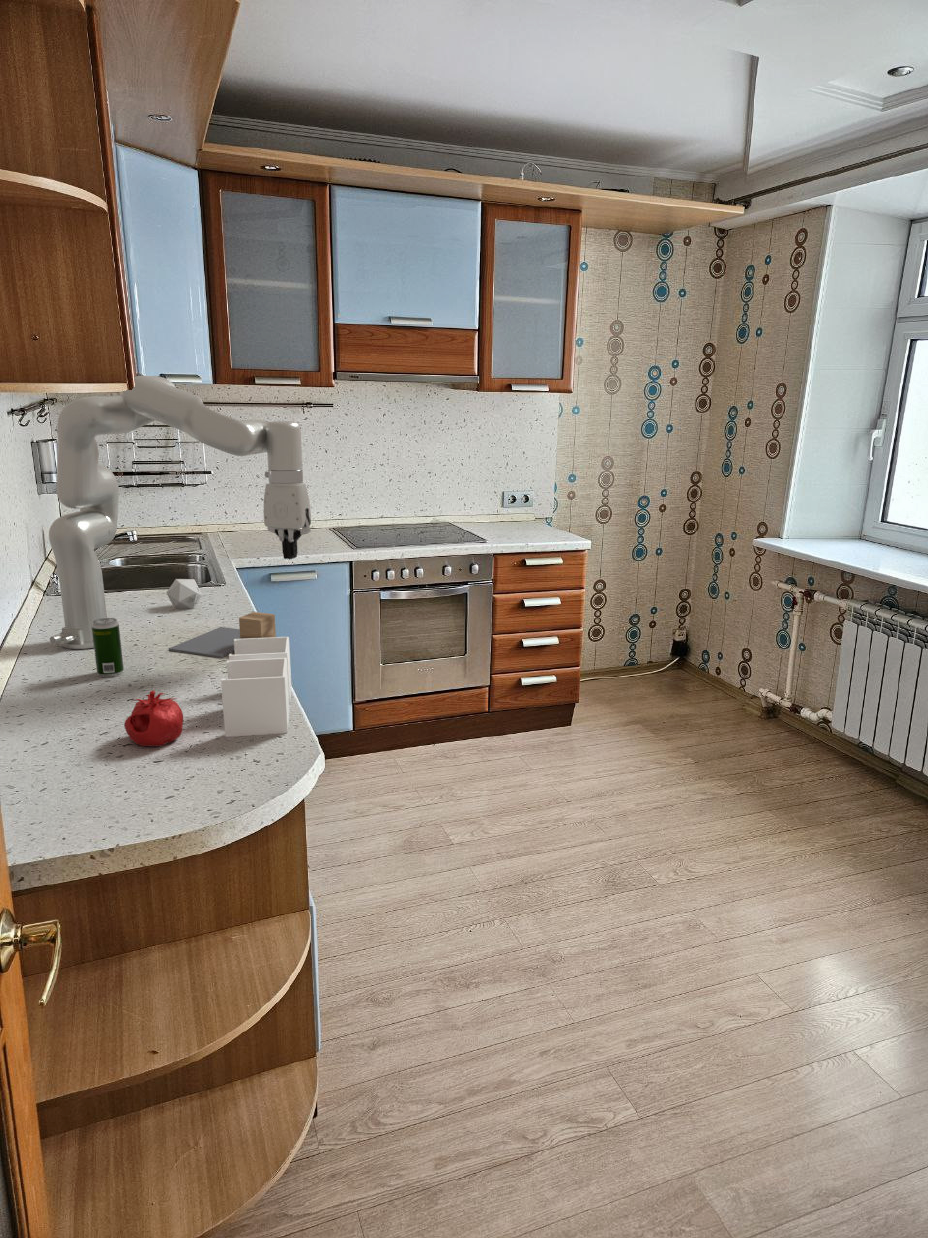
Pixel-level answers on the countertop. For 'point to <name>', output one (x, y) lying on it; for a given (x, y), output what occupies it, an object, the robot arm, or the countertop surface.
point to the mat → (210, 643)
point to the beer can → (107, 647)
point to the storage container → (257, 687)
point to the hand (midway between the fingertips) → (290, 557)
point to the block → (257, 625)
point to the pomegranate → (154, 721)
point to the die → (184, 594)
